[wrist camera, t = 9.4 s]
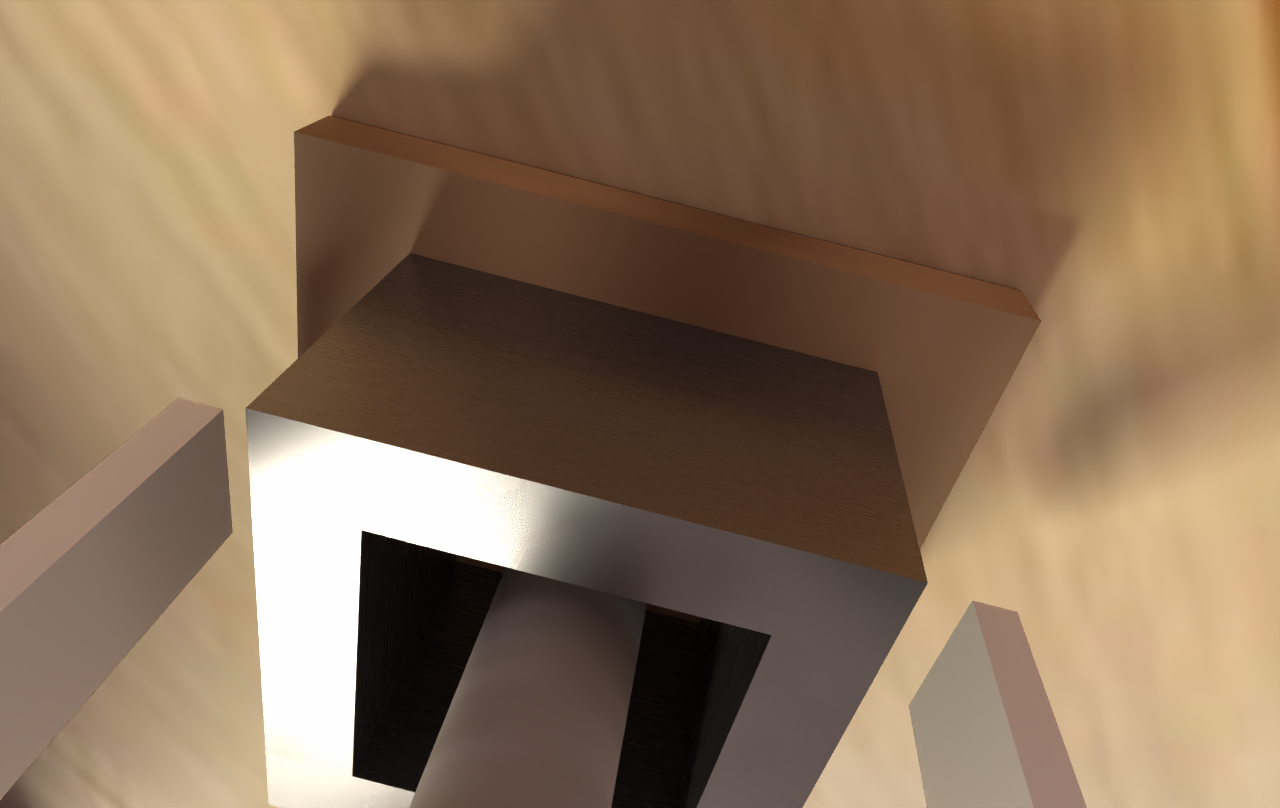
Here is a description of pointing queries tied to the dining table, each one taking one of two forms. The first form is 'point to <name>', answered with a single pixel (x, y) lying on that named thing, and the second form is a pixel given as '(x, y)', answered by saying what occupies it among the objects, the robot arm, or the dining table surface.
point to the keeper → (654, 284)
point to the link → (569, 534)
